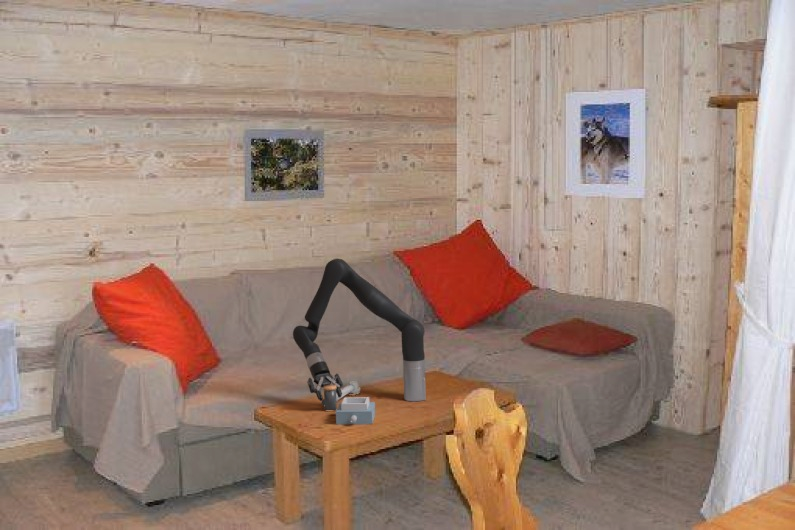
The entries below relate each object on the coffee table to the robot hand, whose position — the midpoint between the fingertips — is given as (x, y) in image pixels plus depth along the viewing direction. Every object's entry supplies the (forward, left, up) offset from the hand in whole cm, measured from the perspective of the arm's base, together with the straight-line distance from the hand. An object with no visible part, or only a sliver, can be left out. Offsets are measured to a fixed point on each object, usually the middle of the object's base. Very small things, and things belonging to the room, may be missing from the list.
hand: (331, 398), depth 366 cm
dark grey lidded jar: (0, -1, -5) cm, 5 cm away
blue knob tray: (-12, +15, -5) cm, 20 cm away
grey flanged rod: (-2, -17, -6) cm, 18 cm away
